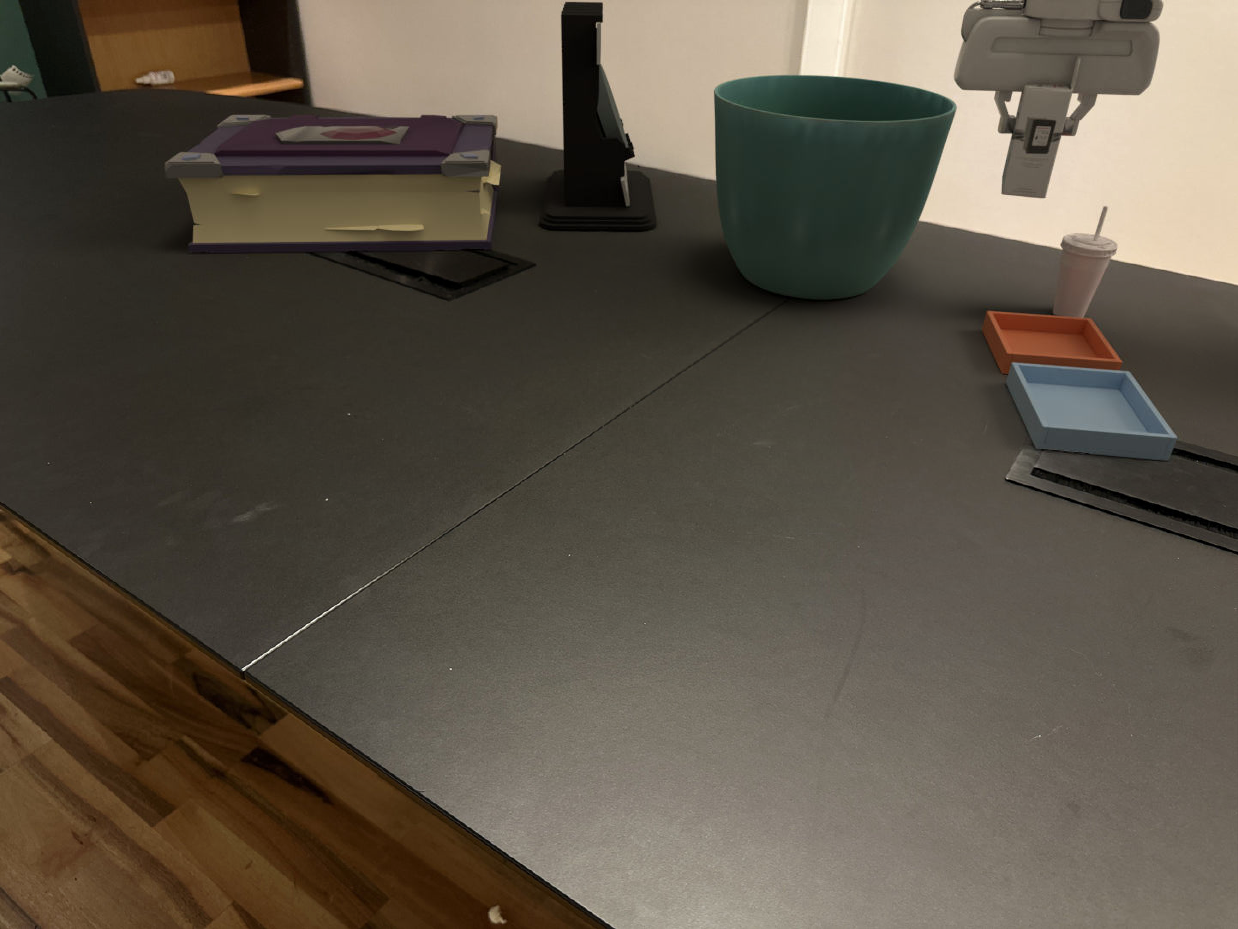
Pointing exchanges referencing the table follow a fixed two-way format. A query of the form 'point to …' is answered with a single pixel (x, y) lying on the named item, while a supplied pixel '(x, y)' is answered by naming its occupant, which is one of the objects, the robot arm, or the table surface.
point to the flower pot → (823, 177)
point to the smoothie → (1081, 270)
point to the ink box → (1036, 138)
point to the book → (342, 184)
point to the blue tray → (1089, 411)
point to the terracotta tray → (1047, 341)
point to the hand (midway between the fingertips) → (1036, 133)
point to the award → (593, 141)
